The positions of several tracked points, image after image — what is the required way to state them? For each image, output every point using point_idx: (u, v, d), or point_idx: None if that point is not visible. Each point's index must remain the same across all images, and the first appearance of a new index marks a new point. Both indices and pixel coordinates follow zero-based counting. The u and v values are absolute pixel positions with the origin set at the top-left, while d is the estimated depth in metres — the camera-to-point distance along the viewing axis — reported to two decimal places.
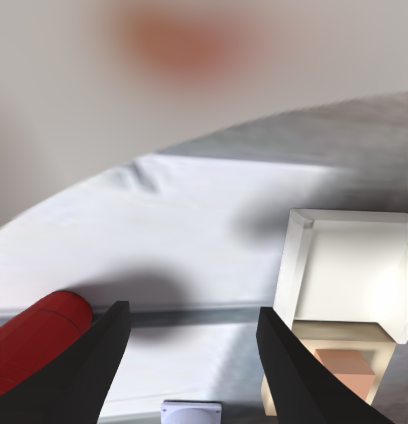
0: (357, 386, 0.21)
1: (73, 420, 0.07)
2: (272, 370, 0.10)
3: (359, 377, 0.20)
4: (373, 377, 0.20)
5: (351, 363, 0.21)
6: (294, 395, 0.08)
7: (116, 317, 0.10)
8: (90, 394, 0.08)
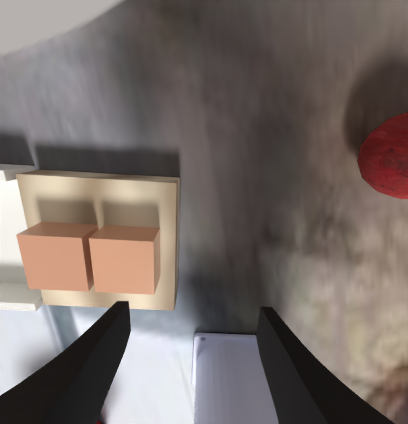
0: (43, 252, 0.16)
1: (73, 420, 0.07)
2: (272, 370, 0.10)
3: (26, 253, 0.16)
4: (21, 236, 0.15)
5: None
6: (294, 395, 0.08)
7: (116, 317, 0.10)
8: (90, 394, 0.08)
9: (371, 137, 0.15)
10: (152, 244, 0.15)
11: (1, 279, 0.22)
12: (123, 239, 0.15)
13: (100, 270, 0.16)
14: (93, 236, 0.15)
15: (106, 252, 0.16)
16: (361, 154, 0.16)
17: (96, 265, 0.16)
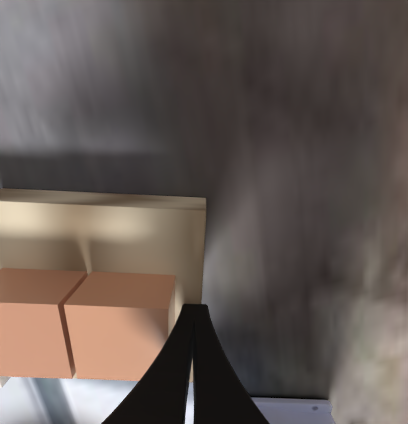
0: None
1: (183, 423, 0.07)
2: (194, 367, 0.10)
3: None
4: None
5: None
6: None
7: (193, 320, 0.10)
8: (185, 397, 0.08)
9: None
10: (166, 313, 0.10)
11: None
12: (120, 306, 0.09)
13: (84, 349, 0.10)
14: (72, 300, 0.10)
15: (92, 325, 0.10)
16: None
17: (77, 342, 0.10)
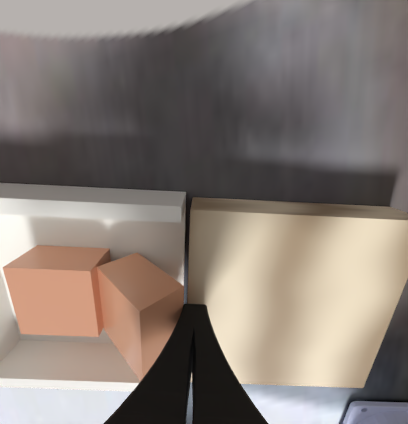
0: (39, 289, 0.12)
1: None
2: (193, 367, 0.10)
3: (17, 291, 0.12)
4: (9, 270, 0.11)
5: None
6: (194, 392, 0.08)
7: (194, 320, 0.10)
8: None
9: None
10: (138, 314, 0.09)
11: None
12: (117, 287, 0.11)
13: (105, 309, 0.13)
14: (103, 266, 0.12)
15: (107, 292, 0.12)
16: None
17: (102, 301, 0.13)
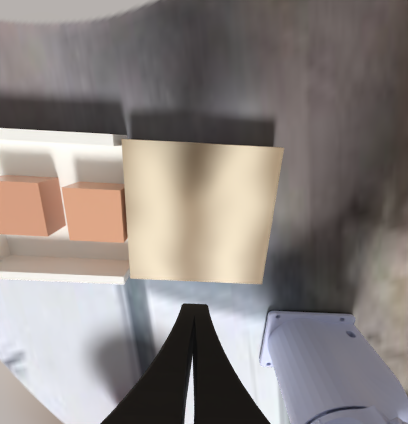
0: (3, 197, 0.17)
1: None
2: (194, 367, 0.10)
3: None
4: None
5: None
6: None
7: (192, 320, 0.10)
8: None
9: None
10: (119, 193, 0.17)
11: (80, 255, 0.21)
12: (93, 188, 0.17)
13: (73, 219, 0.18)
14: (66, 186, 0.17)
15: (78, 201, 0.17)
16: None
17: (69, 214, 0.17)
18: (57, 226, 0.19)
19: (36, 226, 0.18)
